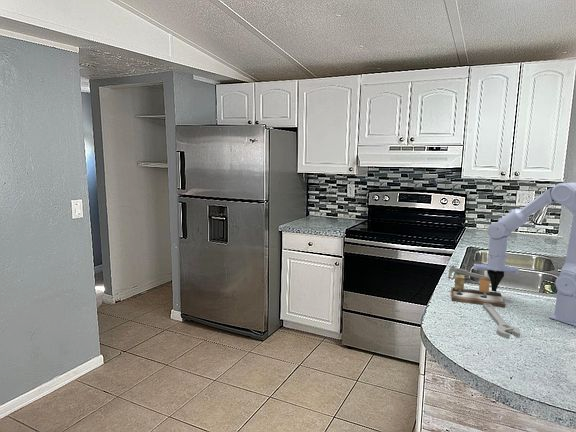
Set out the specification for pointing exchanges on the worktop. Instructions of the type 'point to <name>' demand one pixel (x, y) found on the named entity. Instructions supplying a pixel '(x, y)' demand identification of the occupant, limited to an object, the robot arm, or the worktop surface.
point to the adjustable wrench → (501, 323)
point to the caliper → (464, 273)
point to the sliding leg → (484, 285)
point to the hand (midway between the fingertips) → (493, 290)
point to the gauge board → (474, 294)
